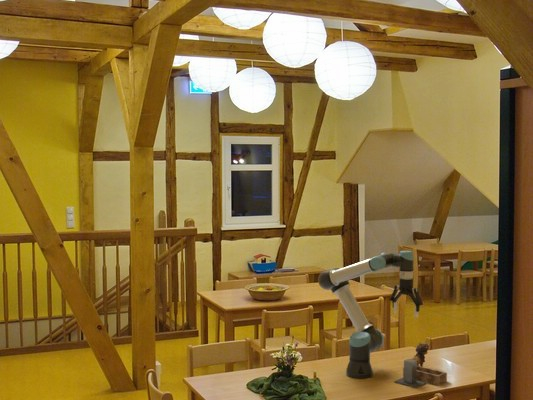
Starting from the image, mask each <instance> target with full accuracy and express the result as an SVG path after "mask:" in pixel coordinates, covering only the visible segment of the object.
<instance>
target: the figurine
mask: <svg viewBox="0 0 533 400" xmlns="http://www.w3.org/2000/svg"><path fill="white" fill-rule="evenodd" d="M429 349H430V345H428V344H427V343H421V342H419V343H418V344H416V348H415V352H416V354H415V355H414V356H413V357H411V358H410V359H413V360H417V366H421V367H424V363H425V362H426V360H425V358H426V356H425V355H427V354H428V350H429Z"/></svg>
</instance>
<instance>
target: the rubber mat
mask: <svg viewBox="0 0 533 400" xmlns="http://www.w3.org/2000/svg"><path fill="white" fill-rule="evenodd" d="M393 382H394V383H396V384H400V385H402V386H403V385H404V386H407V387H410V388H413V389H414V388H415V389H417V388H419V387H422V386H425V385H427V382H424V381H420V380H416V382H415V383H413V384H410V383H406V382H404V376H403V377H401V378H399V379H397V380H394V381H393Z"/></svg>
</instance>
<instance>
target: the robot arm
mask: <svg viewBox="0 0 533 400" xmlns="http://www.w3.org/2000/svg"><path fill="white" fill-rule="evenodd" d="M414 261H415V259H414V252H413V251H411V250H401V251H399V253H393V252H382V253H380V255H376V256H373V257H371V258H368V259H365V260H362V261H359V262H356V263H353V264H351V265H348V266H345V267H341V268H340V267H334V268H330V269H328V270H327V269H326V270H324V271H322V272H321V273H320V274H319V275H318V278H317V282H318V285H319V286H320V288H322V289H323V290H326V291H331V292H332V294H333V295H336V297H337V298H338V300H339V301H340V303H341V305H342V307H343V309H344V310H345V312H346V314H347V315H348V317H349V319H350V321H351V323H352V325H353V326H354V328H355V330H356V331H355V332H353V333H351V334H350V336H349V341H348V343H349V353H348V354H349V359H348V360H349V361H348V364H347V367H346V371H345V374H346V376H348V377H350V378H354V379H369V378H371V377H373V376H374V371H373V368H372V365H371V354H372V353H374V352H375V351H378V350H379V349H380V348H382V347H383V345H384V342H385V338H384V334H383V333H382V331H381V330H379V329H377V328H376V327H375V325H374V324H372V323H370V322H369V319H367V317H366V315H365V313H364V312H363V310H362V308H361V307H360V305H359V303H358V300H357V299H356V298H355V296H354V294H353V292H352V290H351V289H350V286H351V283H350V282H349V280H352V279H355V278H359V277H361V276H364V275H367V274H370V273H373V272H376V271H379V270H383V269H387V268H389V267H395V268H399V280H398V282H399V285H398V284H397V285H396V284H395V285H394V289H393V291H392V293H391V295H390V297H389V301H390V302H392V308H393V314H394V315H396V314H398V300H399V299H400V297H402V295H403V296H404V295H405V296H408V297H410V299H411V301H412V302H413V303H414V305H415V306H414V310H413V311H414V312H413V313H414V318H419V313H420V306H423V304H424V303H423V300H422V298H421V295H420V293H419V287H415V288H414V287H413V286H414ZM399 290H400V291H399ZM398 291H399V292H398Z"/></svg>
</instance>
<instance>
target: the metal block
mask: <svg viewBox="0 0 533 400" xmlns="http://www.w3.org/2000/svg"><path fill="white" fill-rule="evenodd" d="M403 368H404V376H403V377H404V382H406V383H410V384H413V383H415V382H416V378H417V360H413V359H411V358H407V359H405V360H403Z"/></svg>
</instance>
